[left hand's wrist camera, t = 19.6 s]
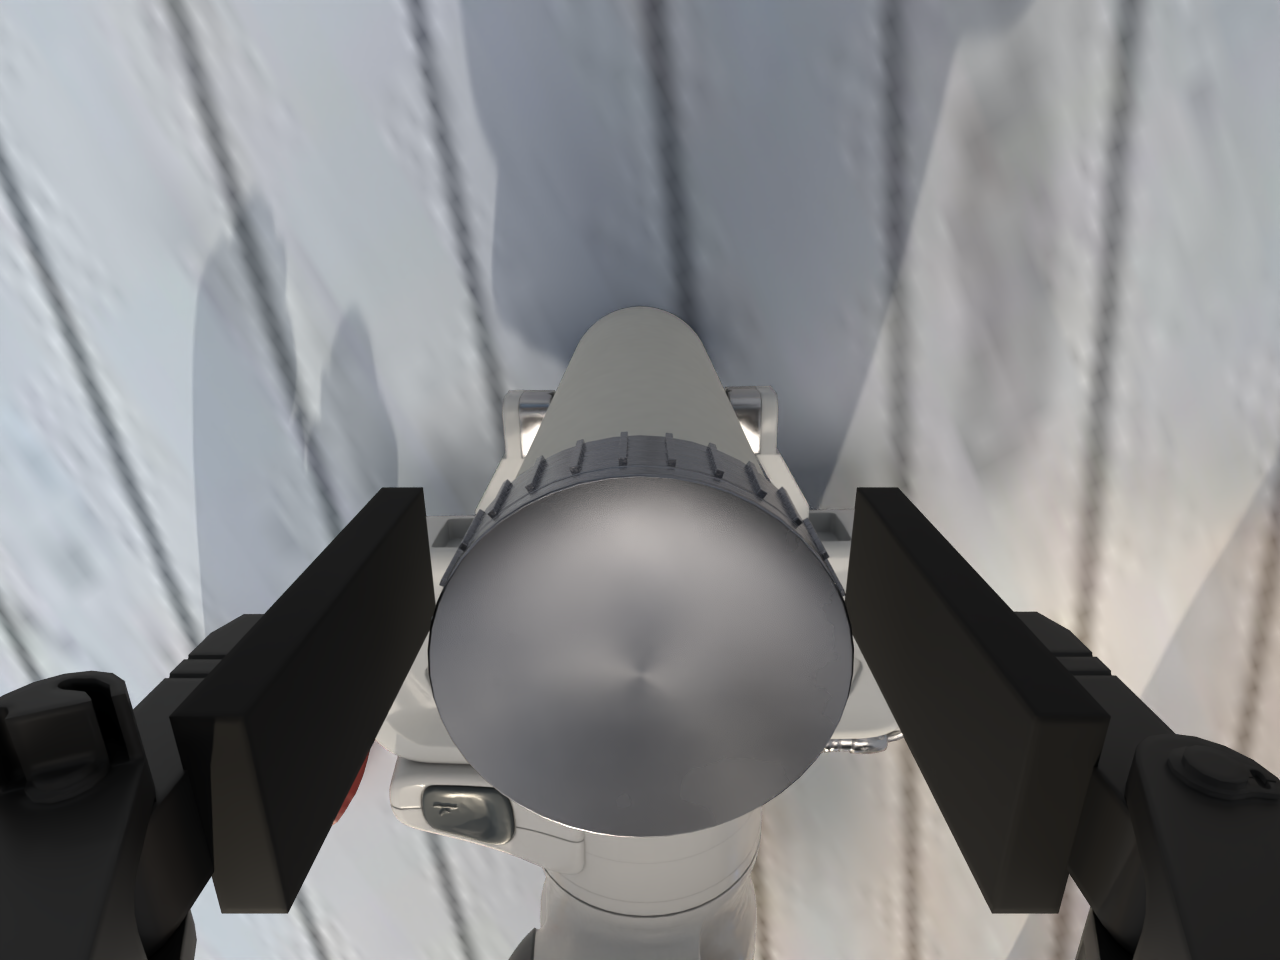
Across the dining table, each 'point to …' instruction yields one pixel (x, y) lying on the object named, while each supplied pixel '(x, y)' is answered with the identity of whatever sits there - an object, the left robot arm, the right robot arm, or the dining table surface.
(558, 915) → the right robot arm
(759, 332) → the dining table surface
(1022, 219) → the dining table surface
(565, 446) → the bottle
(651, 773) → the lid
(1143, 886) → the left robot arm
